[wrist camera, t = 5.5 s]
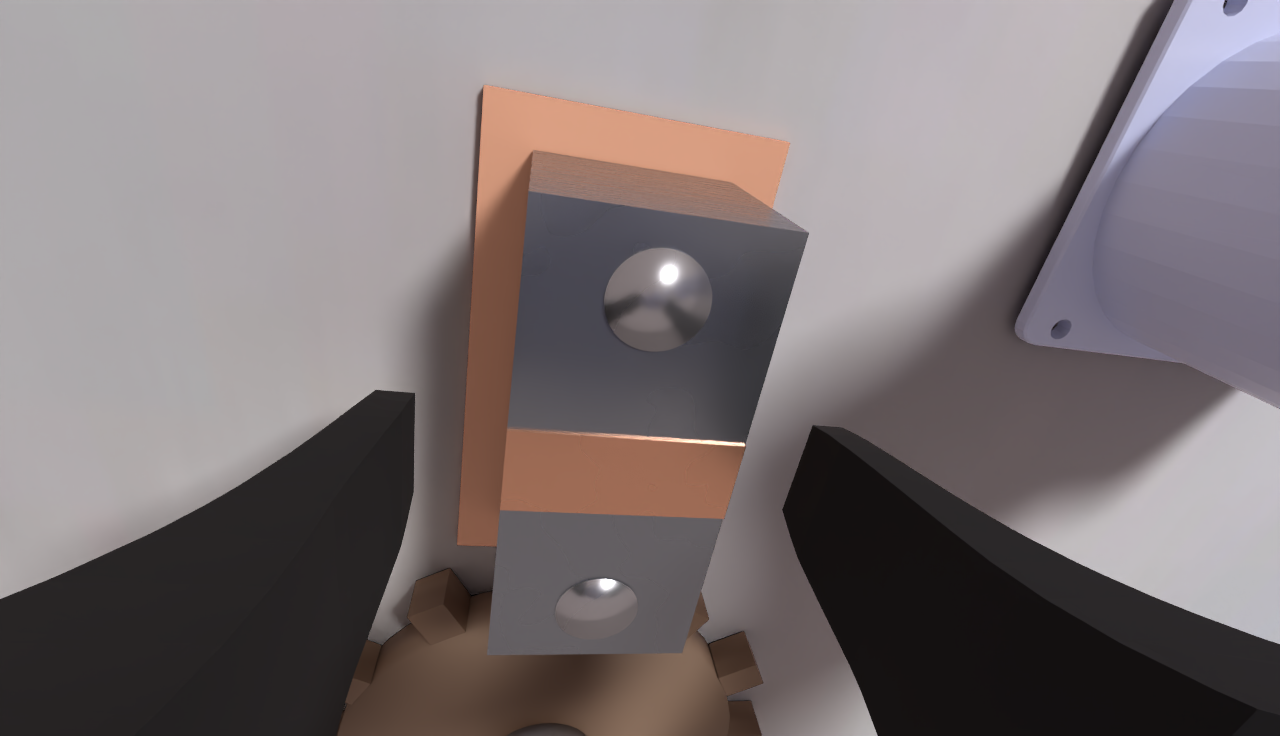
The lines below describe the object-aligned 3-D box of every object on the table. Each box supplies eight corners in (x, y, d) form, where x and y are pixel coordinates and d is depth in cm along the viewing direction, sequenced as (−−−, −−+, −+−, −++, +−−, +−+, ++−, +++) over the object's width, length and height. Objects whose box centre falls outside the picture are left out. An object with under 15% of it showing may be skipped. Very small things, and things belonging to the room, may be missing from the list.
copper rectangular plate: (786, 141, 12) (790, 142, 12) (676, 547, 17) (677, 552, 17) (484, 84, 11) (483, 85, 11) (457, 540, 16) (457, 545, 15)
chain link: (730, 181, 12) (810, 233, 8) (651, 521, 16) (682, 655, 12) (532, 149, 11) (528, 191, 8) (500, 515, 15) (486, 657, 12)
